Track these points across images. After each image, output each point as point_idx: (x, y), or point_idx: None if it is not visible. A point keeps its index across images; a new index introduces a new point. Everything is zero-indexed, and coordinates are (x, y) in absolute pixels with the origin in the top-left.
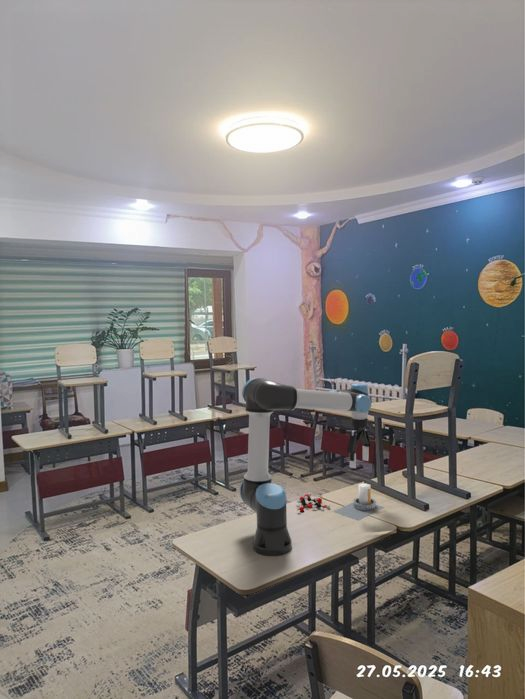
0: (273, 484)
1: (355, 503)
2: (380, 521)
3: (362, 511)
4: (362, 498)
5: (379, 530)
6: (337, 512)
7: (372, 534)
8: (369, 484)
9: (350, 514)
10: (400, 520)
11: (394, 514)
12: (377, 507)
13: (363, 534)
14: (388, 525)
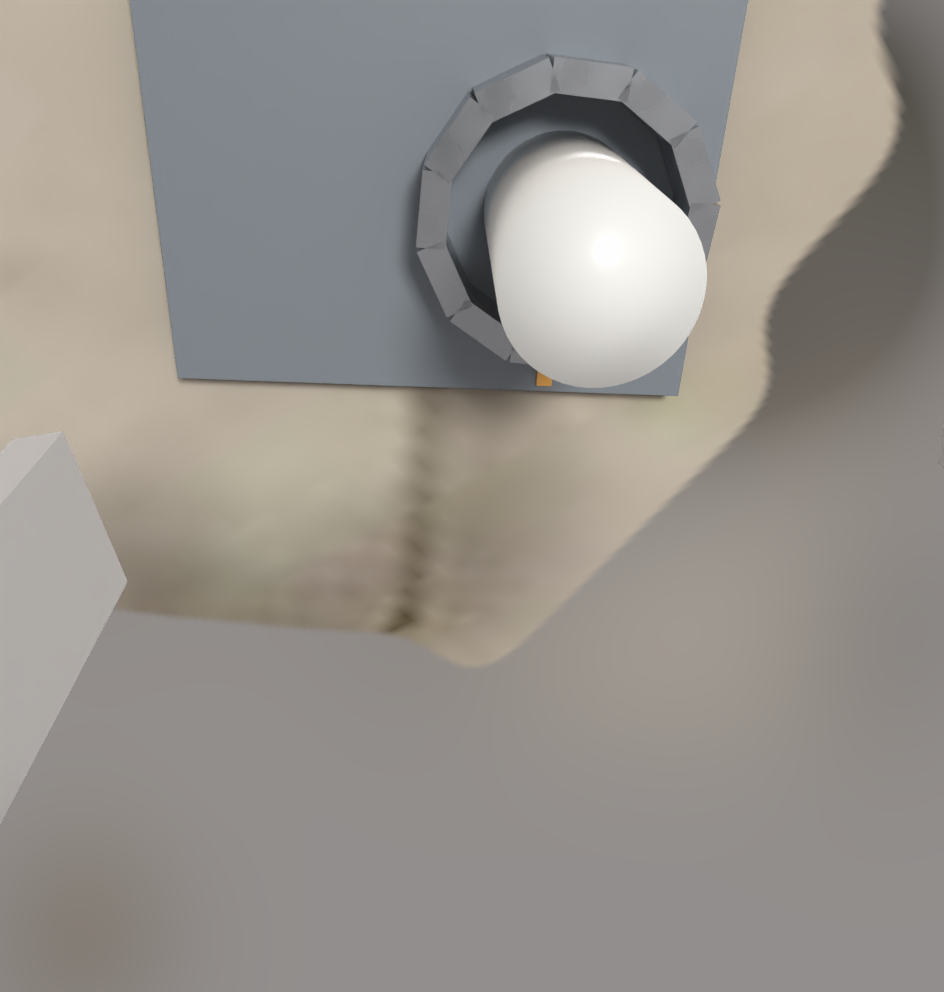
0: None
1: (422, 170)
2: (383, 495)
3: (409, 276)
4: (490, 261)
5: (215, 578)
6: (152, 39)
7: None
8: (691, 328)
9: (234, 216)
10: (526, 601)
11: (619, 507)
12: None
13: None
14: (360, 581)
